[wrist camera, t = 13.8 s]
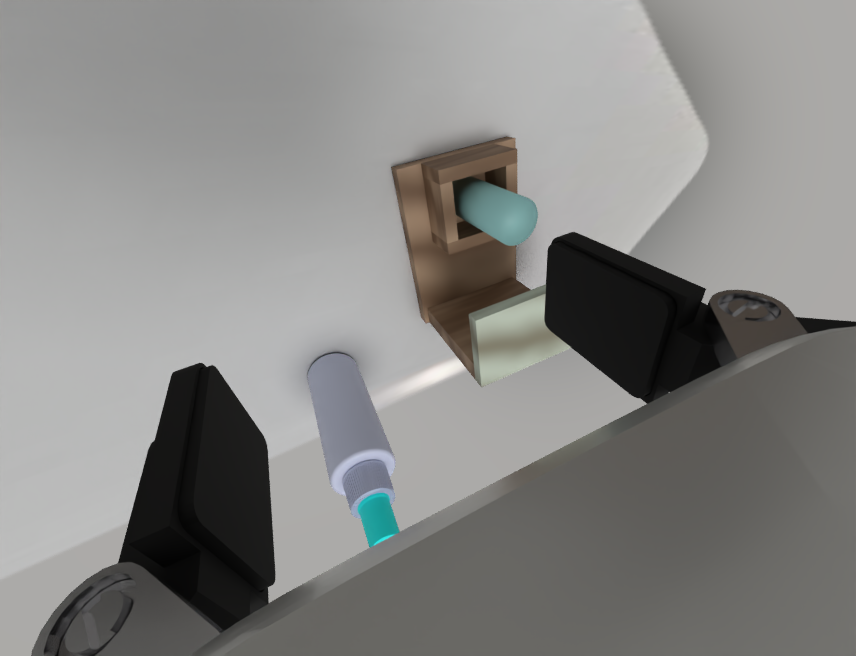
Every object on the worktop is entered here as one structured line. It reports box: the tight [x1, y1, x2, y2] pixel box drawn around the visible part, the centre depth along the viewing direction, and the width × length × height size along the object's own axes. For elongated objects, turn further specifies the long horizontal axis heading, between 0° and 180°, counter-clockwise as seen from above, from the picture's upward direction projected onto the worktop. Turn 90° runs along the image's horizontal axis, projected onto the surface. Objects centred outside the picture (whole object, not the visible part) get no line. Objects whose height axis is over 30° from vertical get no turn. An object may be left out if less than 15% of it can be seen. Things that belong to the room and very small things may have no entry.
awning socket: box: [391, 137, 571, 387], centre depth 36 cm, size 18×13×14 cm
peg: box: [452, 176, 538, 246], centre depth 34 cm, size 4×4×10 cm
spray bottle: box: [308, 353, 399, 547], centre depth 36 cm, size 6×6×22 cm
